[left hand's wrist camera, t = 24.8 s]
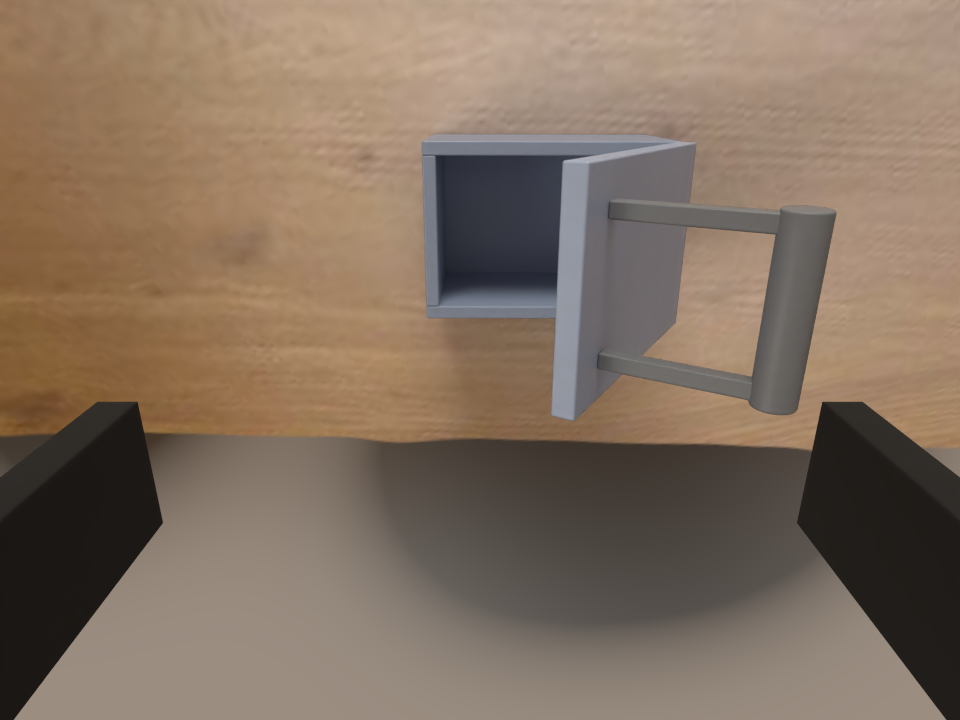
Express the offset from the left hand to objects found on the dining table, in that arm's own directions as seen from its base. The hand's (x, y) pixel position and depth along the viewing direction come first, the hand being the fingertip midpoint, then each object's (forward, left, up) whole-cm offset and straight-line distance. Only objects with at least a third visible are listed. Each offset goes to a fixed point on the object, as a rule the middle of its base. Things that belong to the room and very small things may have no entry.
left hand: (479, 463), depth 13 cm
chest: (+4, +1, -33) cm, 33 cm away
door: (+6, +1, -18) cm, 19 cm away
